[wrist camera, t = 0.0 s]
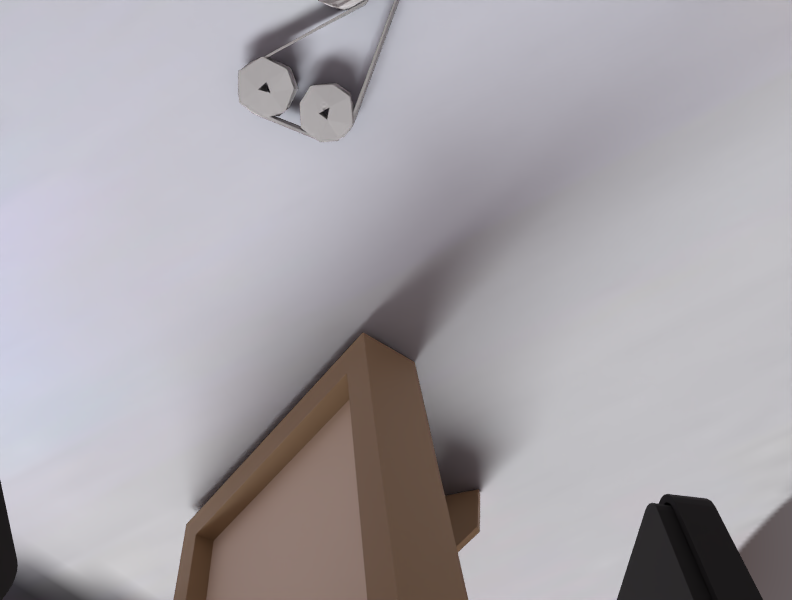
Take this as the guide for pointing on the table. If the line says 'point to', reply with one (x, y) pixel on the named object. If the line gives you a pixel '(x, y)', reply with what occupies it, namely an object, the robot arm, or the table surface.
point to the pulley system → (316, 97)
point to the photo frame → (337, 500)
